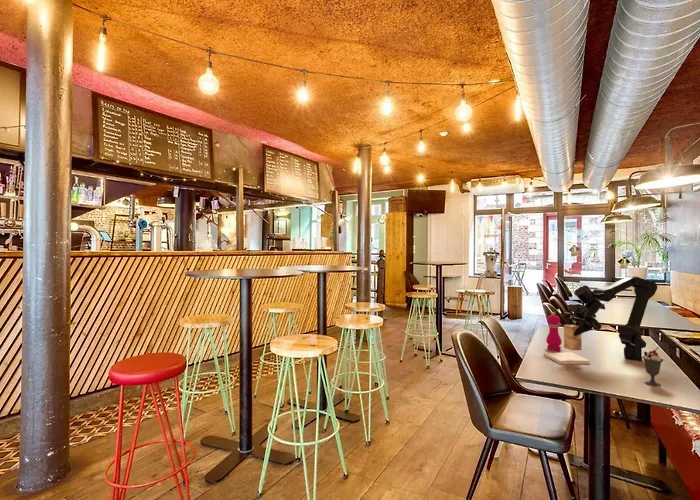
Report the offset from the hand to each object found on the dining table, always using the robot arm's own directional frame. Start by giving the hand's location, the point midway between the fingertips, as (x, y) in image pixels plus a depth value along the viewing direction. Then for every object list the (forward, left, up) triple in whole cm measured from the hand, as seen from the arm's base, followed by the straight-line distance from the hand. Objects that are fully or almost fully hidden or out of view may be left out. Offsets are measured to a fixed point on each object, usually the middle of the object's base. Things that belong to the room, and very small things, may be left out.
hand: (569, 334), depth 174 cm
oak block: (-1, -1, -7) cm, 7 cm away
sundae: (-29, +16, -14) cm, 36 cm away
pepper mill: (+9, -22, -14) cm, 28 cm away
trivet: (+2, -4, -13) cm, 14 cm away
